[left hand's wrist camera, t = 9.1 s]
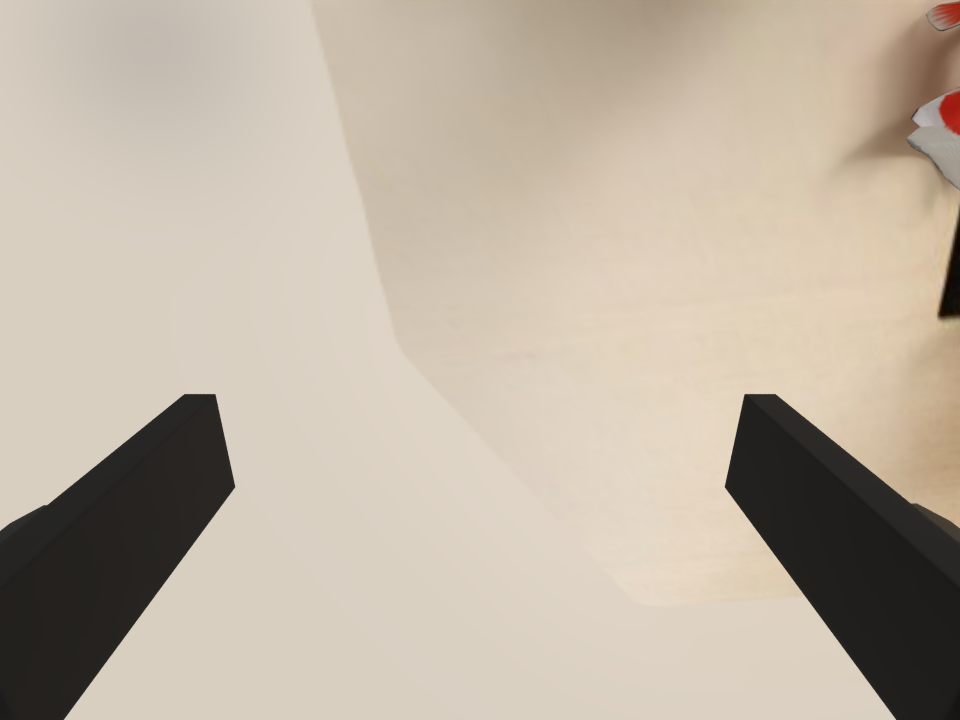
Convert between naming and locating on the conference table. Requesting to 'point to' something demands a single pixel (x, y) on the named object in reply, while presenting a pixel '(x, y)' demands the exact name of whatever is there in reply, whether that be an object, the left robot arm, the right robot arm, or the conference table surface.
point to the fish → (941, 112)
